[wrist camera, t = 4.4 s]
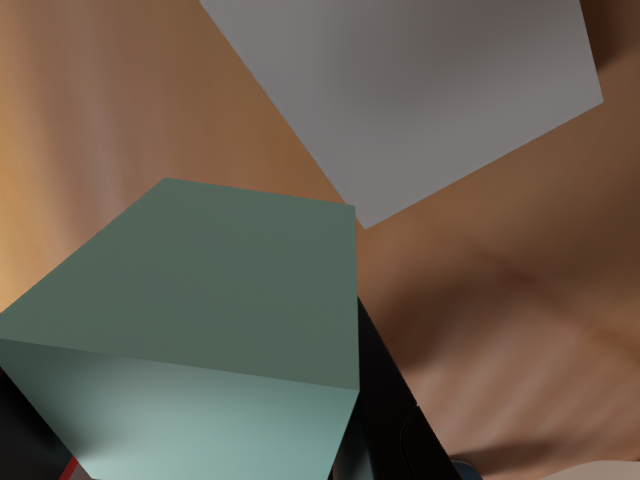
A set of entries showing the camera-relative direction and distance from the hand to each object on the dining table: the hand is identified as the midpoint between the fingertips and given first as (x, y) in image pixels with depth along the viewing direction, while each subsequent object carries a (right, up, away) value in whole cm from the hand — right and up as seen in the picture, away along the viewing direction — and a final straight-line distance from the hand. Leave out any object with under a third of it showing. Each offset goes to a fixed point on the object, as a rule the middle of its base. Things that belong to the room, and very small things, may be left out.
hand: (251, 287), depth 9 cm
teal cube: (0, +1, +1) cm, 1 cm away
